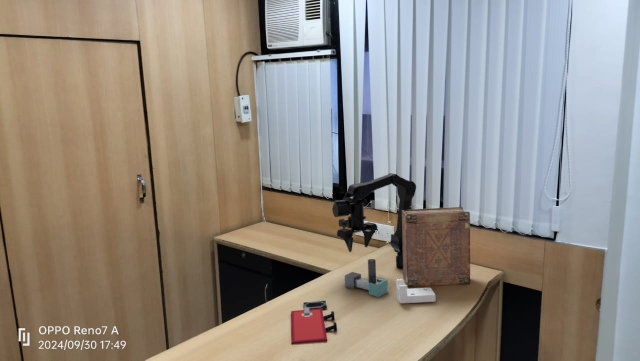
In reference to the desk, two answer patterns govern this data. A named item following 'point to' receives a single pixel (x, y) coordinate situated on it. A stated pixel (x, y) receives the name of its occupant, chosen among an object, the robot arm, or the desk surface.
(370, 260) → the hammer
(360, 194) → the robot arm
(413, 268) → the book
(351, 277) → the outer sleeve
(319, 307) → the red board with handle
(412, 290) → the bracket
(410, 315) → the desk surface
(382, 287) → the socket block
